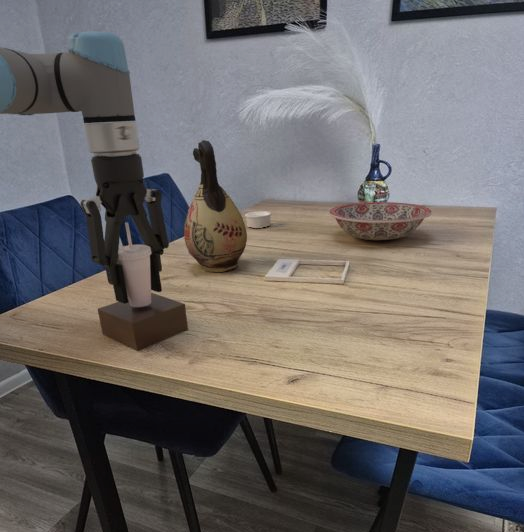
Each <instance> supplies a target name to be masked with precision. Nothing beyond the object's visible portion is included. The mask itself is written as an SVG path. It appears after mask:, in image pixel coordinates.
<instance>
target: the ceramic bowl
mask: <svg viewBox="0 0 524 532" xmlns="http://www.w3.org/2000/svg"><path fill="white" fill-rule="evenodd" d="M432 213H433V212H432V209H430V208H429V207H426V206H423V205H420V204H415V203H414V204H412V203H406V202H405V203H404V202H395V201H394V202H393V201H392V202H391V201H372V202H371V201H370V202H369V201H368V202H357V203H348V204H342V205H338V206H335V207H332V208H331V209H329V211H328V215H329V216H330V217H332V218H334V219H335V221H336V223H337V225H338V226H339V227H340V228H341V230H343V231H344V232H345V233H346V234H348V235H349V236H352V237H355V238H358V239H361V240H367V241H368V240H369V241H387V240H388V241H389V240H396V239H400V238H404V237H406V236H408V235H410V234H411V233H412V232H414V231H416V229H418V227H420V225H421V224H422V223H423V221H424V220H425V219H428V218H429V217H430V216H431V215H432Z"/></svg>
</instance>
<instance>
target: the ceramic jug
mask: <svg viewBox="0 0 524 532" xmlns="http://www.w3.org/2000/svg"><path fill="white" fill-rule="evenodd" d="M197 144H198V145H197V147H194V148H193V151H192V155H193V158H194V159H193V160H194V161H195V162H197V163H198V164H199V167H200V183H199V184H198V188H197V190H196V192H195V194H194V196H193V198H192V201H191V203H190V206H189V208H188V210H187V213H186V216H185V221H184V228H183V229H184V230H183V234H184V235H183V236H184V237H183V239H184V243H185V247H186V248H187V250H188V251H187V252H188V254H189V255H190V256H191V257H192V258H193V259H194V260H195V261H196V262H197V263H198V264H199V265H200V267H201V268H202V270H203V271H205V272H209V273H210V272H211V273H223V272H226V271H229V270H233V269H235V268H237V267H238V266H239V260H240V259H241V256H242V255H243V254H244V253H245V252H244V251H245V249H246V245H247V243H248V233H247V232H248V231H247V227H246V224H245V221H244V219H243V216H242V214H241V211H240V210H239V208H238V207H237V206H236V204H235V202H234V201H233V199H232V198H231V197H230V195H228V193H227V191H226V190H225V189H224V188H223V187H222V186H221V185H220V184H219V180H218V174H217V171H218V170H217V161H216V156H215V151H214V146H213V144H212V143H211V142H210V141H209V140H205V139H203V140H201V141H200V142H197Z"/></svg>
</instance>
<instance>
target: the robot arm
mask: <svg viewBox="0 0 524 532" xmlns="http://www.w3.org/2000/svg"><path fill="white" fill-rule="evenodd" d="M126 55H127V54H126V50H125V45H124V41H123V40H122V39H121V38H120V36H119V35H117V34H115V33H111V32H107V31H80V32H74V33H72V34H70V35H69V37H68V51H64V52H57V53H28V52H24V51H19V50H14V49H10V48H7V47H1V46H0V115H18V116H33V115H44V114H57V113H58V114H59V113H70V112H71V113H79V112H81V115H82V121H83V124H84V125H83V126H84V130H85V131H84V132H85V137H86V142H87V147H88V151H89V153H91V154H93V156H91V159H90V162H91V163H90V164H91V167H92V172H93V178H94V181H95V184H96V192H95V196H92V198H89V199H82V200H81V201H80V206H81V209H82V211H83V213H84V215H85V219H86V227H87V236H88V242H89V248H90V250H89V251H90V258H91V262H92V263H93V264H96V265H100V266H104V268H105V273H106V278H107V283H108V284H109V285H110V286H111V285H112V286H113V292H114V296H115V301H116V302H121V303H124V304H126V303H129V301H128V296H127V290H126V285H125V279H124V274H123V268H122V265H120V264H117V258H118V249H119V247H120V239H121V238H120V237H121V229H122V228H121V227H122V225H123V223H124V218H126V217H128V216H129V217H130V218H131V219H132V220H133V223H134V225H135V227H136V229H137V231H138V234H139V235H140V237H141V240H142V242H143V245H147V246H149V247H150V248H151V252H152V253H151V255H150V274H151V291H153V292H156V293H162V292H163V289H162V281H161V276H160V272H162V270H163V266H162V265H163V264H162V257H161V256H162V255H164V253H165V250H164V249H168V248H169V246H170V244H169V237H168V233H167V228H166V223H165V218H164V213H163V208H162V190H160V189H153V188H147V186H146V184H145V183H144V178H145V177H144V176H145V173H144V168H143V167H144V166H143V160H142V155H140V154H139V153H137V151H139V150H140V147H141V146H140V141H139V135H138V134H139V133H138V127H137V121H136V115H135V107H134V99H133V91H132V84H131V77H130V74H131V72H130V69H129V66H128V61H127V56H126ZM144 202H146V208H147V211H146V209H145V207H144V206H145V205H144ZM101 206H102V207H103V208H104V209H105V213H104V221H105V229H103V220H102V214H101V211H102V208H101ZM147 212H148V213H147ZM148 217H149V219H148ZM104 230H105V231H104Z"/></svg>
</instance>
